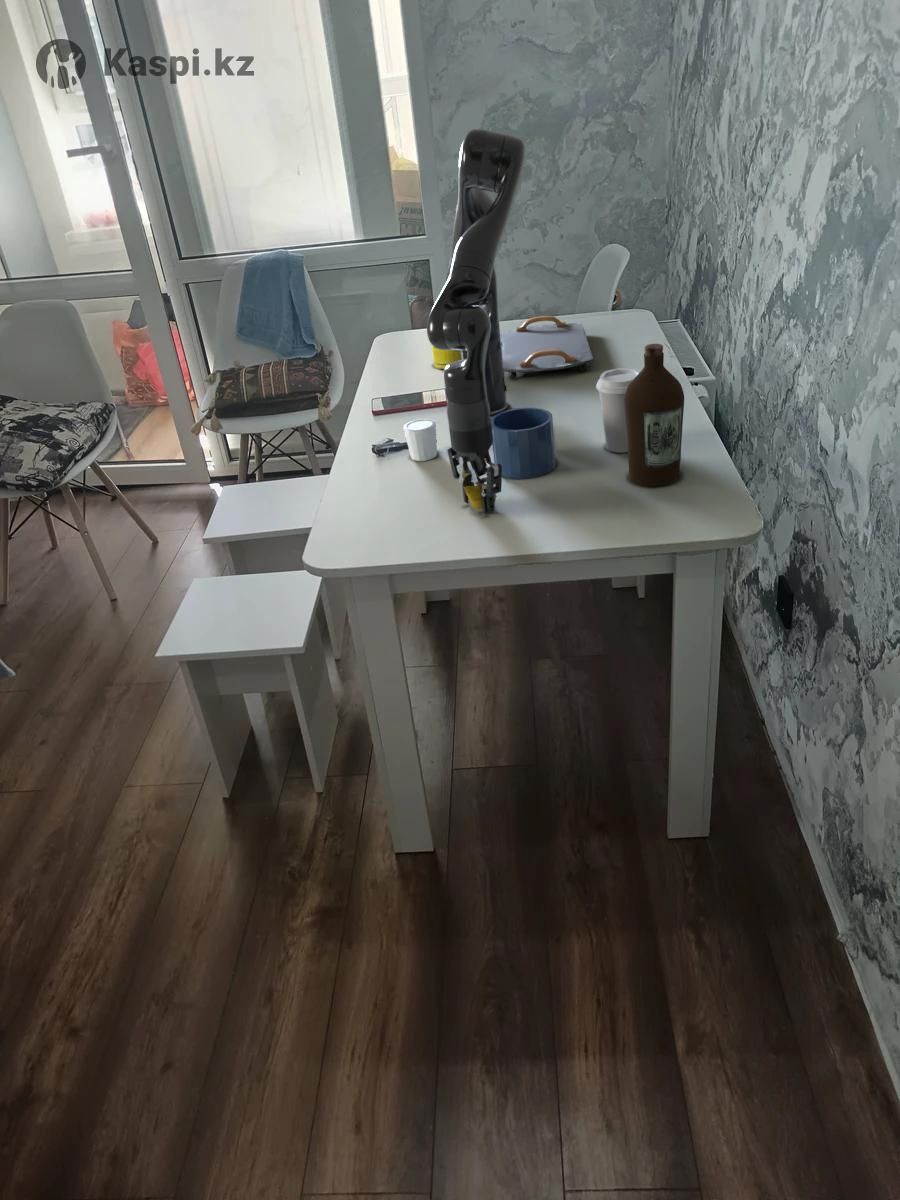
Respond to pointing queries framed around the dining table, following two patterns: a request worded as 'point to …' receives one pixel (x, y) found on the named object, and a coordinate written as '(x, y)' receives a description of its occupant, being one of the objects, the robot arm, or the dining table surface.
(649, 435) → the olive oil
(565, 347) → the serving tray
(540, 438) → the cup
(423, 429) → the white cylinder
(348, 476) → the dining table surface
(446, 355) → the yellow can
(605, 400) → the coffee cup
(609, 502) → the dining table surface
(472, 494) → the drill bit
